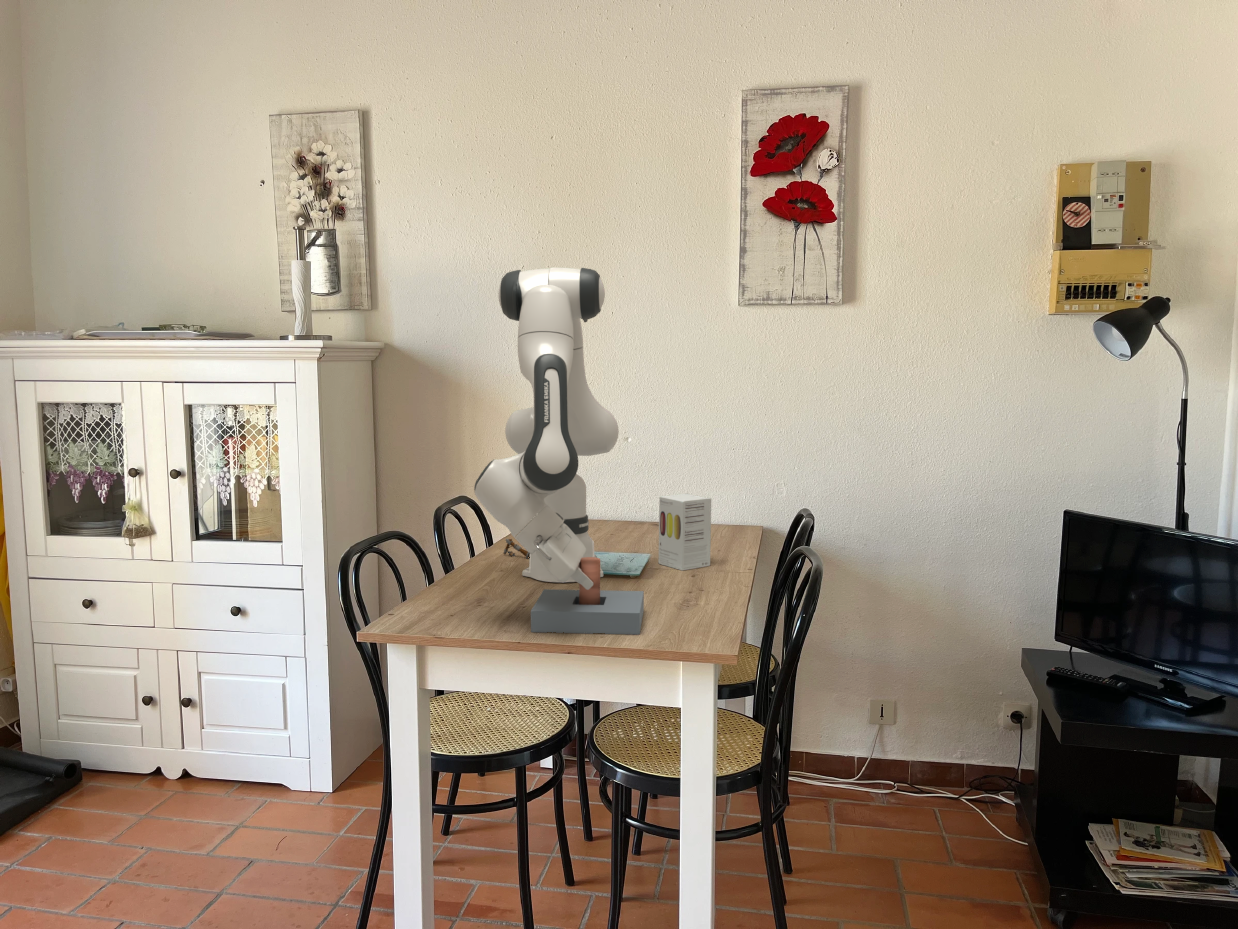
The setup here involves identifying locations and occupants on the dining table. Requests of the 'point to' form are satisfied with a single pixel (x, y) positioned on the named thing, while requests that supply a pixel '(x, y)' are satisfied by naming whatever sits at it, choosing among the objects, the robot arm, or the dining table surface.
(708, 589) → the dining table surface
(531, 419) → the robot arm
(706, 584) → the dining table surface
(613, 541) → the dining table surface
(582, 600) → the pin
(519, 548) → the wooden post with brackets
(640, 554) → the dining table surface
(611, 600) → the socket block
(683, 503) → the supplement box
